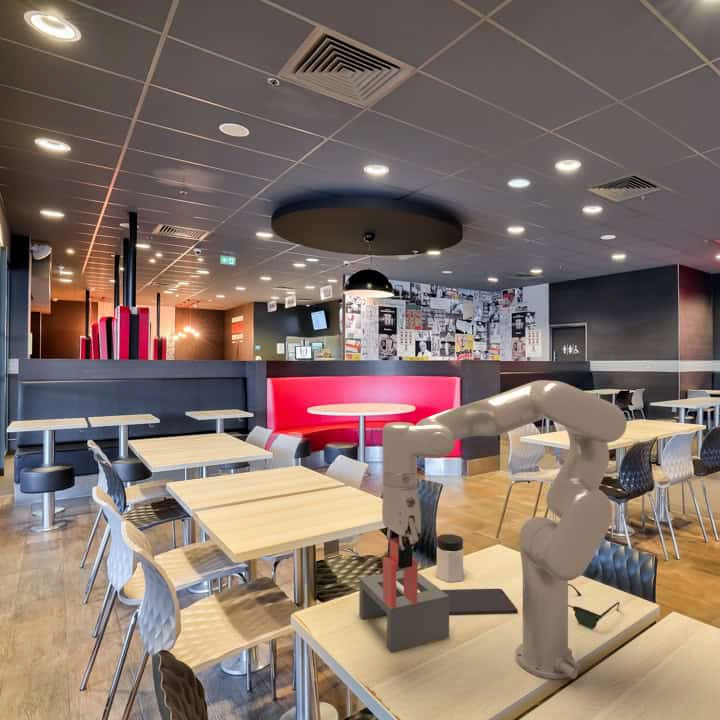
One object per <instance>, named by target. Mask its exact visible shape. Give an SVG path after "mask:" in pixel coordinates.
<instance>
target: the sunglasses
mask: <svg viewBox="0 0 720 720" xmlns="http://www.w3.org/2000/svg"><path fill="white" fill-rule="evenodd" d="M568 586H570V587H572V588H573V589H574V590H575V592H576V593H577V595H578V597H582V596H581V595H582V593H580V591H579V590H577V588H576V587H575V586H574V585H572V584H570V583H568ZM616 606H617V607H616ZM615 607H616V611H619V610H618V609H619V607H620V602H619V601H618V602H616V603H614V604H612V606H610V607H609V608H608V609H607V610H605V611H604V612H603V613H602V614H601V613H600V614H598V613H596V612H593V611H590V610H588V609H585V608H583V607H580V606H575V605H574V606H573V605H571V604H570V605H569V604H568V608H572V610H573V612H574V617H575V619H576V620H577V623H578V624H579V625H581V626H583V627H584V628H585V627H586V628H588V629H590V630H594V629H596V626H597V624H598V622H599V621H600V620H601V619H602V618H603V617H604V616H606V615H607V614H608V613H609V612H611V610H613V609H614V608H615Z"/></svg>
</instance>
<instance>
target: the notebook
mask: <svg viewBox="0 0 720 720" xmlns="http://www.w3.org/2000/svg"><path fill="white" fill-rule="evenodd" d="M441 590H442V591H443V592H444V593H446V594H447V595H448V596H449V616H477V615H513V614H514V615H515V614H518V615H519V613H518V612H519V609H518V608H517V607H516V606H515V604H514V603H513V602H512V600H511V599H510V597H508V595H507V594H506V593H505V591H504V589H502V588H469V589H468V588H467V589H466V588H465V589H464V588H462V589H457V588H456V589H441Z"/></svg>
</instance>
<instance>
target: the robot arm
mask: <svg viewBox="0 0 720 720" xmlns="http://www.w3.org/2000/svg"><path fill="white" fill-rule="evenodd" d="M544 419H545V420H549V421H551V422H555V423H557V424H559V425H562V427H564V428H565V430H566V432H567V435H568V439H569V450H568V453H567V455H566V457H565V460H564V462H563V463H562V465H561V467H560V469H559V471H558V473H557V474H556V476H555V478H554V479H553V482H552V484H551V485H550V487H549V489H548V490H547V494H546V498H545V499H546V501H545V502H546V505H547V508H548V509H549V511H551V512H552V514H553V515H554V516H556V517H558V518H560V520H559V522H558V523H557V522H555V521H554V520H552V519H550V518H547V517H543V516H534V517H532V518H529V519H528V520H526V521H525V522H524V523H523V525H522V527H521V528H520V531H519V536H518V541H519V542H518V543H519V546H518V547H519V552H520V553H519V554H520V559H521V570H522V643H521V644H519V645H518V646H517V647H516V649H515V660H516V661H517V663H518V664H519V666H521V667H522V668H523V669H524V670H526V671H527V672H530V673H531V674H533V675H535V676H538V677H542V678H546V679H553V680H558V679H559V680H561V679H566V678H568V677H569V678H571V679H572V680H574V679H576V678H577V676H578V672H579V671H581V668H582V667H581V665H580V664H579V663H578V662H576V659H575V658H574V656H573V650H572V649H571V648H569V606H568V605H569V585H568V584H569V583H568V582H569V581H572V580H576V579H577V578H579V577H580V576H581V575H582V574H584V573H585V572H586V570H587V569H588V567H589V566H590V563H591V562H592V560H593V558H594V557H595V555H596V553H597V551H598V550H599V548H600V546H601V544H602V542H603V540H604V538H605V536H606V535H607V532H608V530H609V529H610V527H611V524H612V520H613V507H612V502H611V500H610V498H609V497H608V495H606V493H605V492H603V491H602V490H601V489H599V488H600V485H601V483H602V482H603V479H604V477H605V476H606V473H607V470H608V468H609V464H610V449H609V445H608V443H613V442H616V441H617V440H619V439H621V437H623V435H624V434H625V432H626V431H627V423H628V422H627V418H626V416H625V413H624V412H623V411H622V409H621V408H620V407H618V406H617V405H616V404H614V403H612V402H610V401H608V400H605V399H602V398H600V397H598V396H596V395H593V394H591V393H589V392H587V391H584V390H583V389H579V388H577V387H575V386H573V385H570V384H569V383H565V382H562V381H559V380H545V379H544V380H542V379H538V380H534V381H530V382H529V383H525V384H522V385H520V386H517V387H514V388H512V389H509V390H507V391H504V392H501V393H498V394H495V395H493V396H490V397H487V398H484V399H480V400H477V401H473V402H469V403H467V404H465V405H461V406H456V407H453V408H450V409H447V410H445V411H444V410H443V411H442V412H439V413H435V414H433V415H431V416H427V417H426V418H423V419H421V420H419V422H417V423H416V424H413V423H411V422H403V421H402V422H401V421H395V422H388V423H386V424H385V425H383V428H382V486H383V492H382V505H381V508H382V511H381V513H382V515H381V516H382V523H383V525H384V527H385V531H386V532H387V533H386V539H387V557H390V539H392V538H398V537H399V542H400V549H398V567H399V568H400V569H399V570H402V569H404V568H406V567H411V566H412V557H413V549H414V547H415V544H416V543H417V542H419V536H418V535H419V534H421V533H422V518H421V517H422V514H421V512H422V511H421V502H420V495H419V489H418V488H417V487H418V457H423V458H433V459H441V458H445V457H447V456H448V455H449V454H451V453H452V451H454V447H455V444H456V441H457V440H461V439H465V438H470V437H494V436H500V435H503V434H506V433H508V432H512V431H514V430H516V429H519V428H522V427H525V426H527V425H530V424H533V423H536V422H539V421H541V420H544ZM406 532H407V533H406ZM406 538H407V539H406ZM404 539H406V540H405V542H404ZM401 568H402V569H401Z"/></svg>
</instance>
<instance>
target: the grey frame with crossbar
mask: <svg viewBox="0 0 720 720" xmlns="http://www.w3.org/2000/svg"><path fill="white" fill-rule="evenodd" d="M358 589H359V594H358V595H359V599H358V600H359V601H358V602H359V606H358V607H359V613H358V615H359V617H360V619H361V620H368V619H371V618H376V617H380V616H384V615H386V649H387V650H388V651H389V652H390V653H396V652H398V651H403V650H405V649H409V648H412V647H413V648H414V647H416V646H417V647H418V646H421V645H426V644H429V643H432V642H436V641H440V640H445V639H448V638H450V615H449V596H448V595H447V594H446V593H444V592H443V591H442V590H443V589H441V588H439V587H437V585H435V584H434V583H432V581H430V580H428V579H427V578H426V577H424V576H423V575H422V574H421V573H419V572H418V571H417V591H419V592H417V603H411V602H410V601H409V600H408V599H407V598H406V597H405V596H404V569H399V570H396V607H395V608H390V607H389V606H388V605H387V604H386V603H385V602H384V601H383V573H379V574H374V575H368V576H363V577H359V587H358Z"/></svg>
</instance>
